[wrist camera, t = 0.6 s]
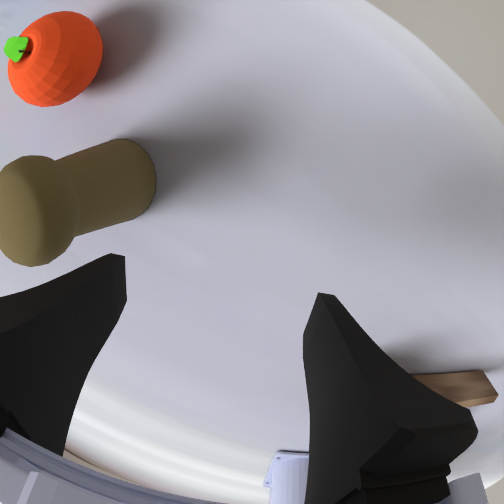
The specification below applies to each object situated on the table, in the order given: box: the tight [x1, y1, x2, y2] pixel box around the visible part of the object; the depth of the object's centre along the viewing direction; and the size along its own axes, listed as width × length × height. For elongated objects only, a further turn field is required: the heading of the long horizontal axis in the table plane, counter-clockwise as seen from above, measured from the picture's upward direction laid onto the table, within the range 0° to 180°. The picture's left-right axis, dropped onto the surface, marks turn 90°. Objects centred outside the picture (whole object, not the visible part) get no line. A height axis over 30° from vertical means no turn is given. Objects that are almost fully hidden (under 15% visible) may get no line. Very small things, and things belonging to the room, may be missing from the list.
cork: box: [0, 139, 156, 267], centre depth 15 cm, size 6×6×11 cm
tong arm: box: [411, 370, 498, 408], centre depth 22 cm, size 14×1×4 cm, turn 85°
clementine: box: [4, 11, 103, 107], centre depth 14 cm, size 8×7×7 cm
